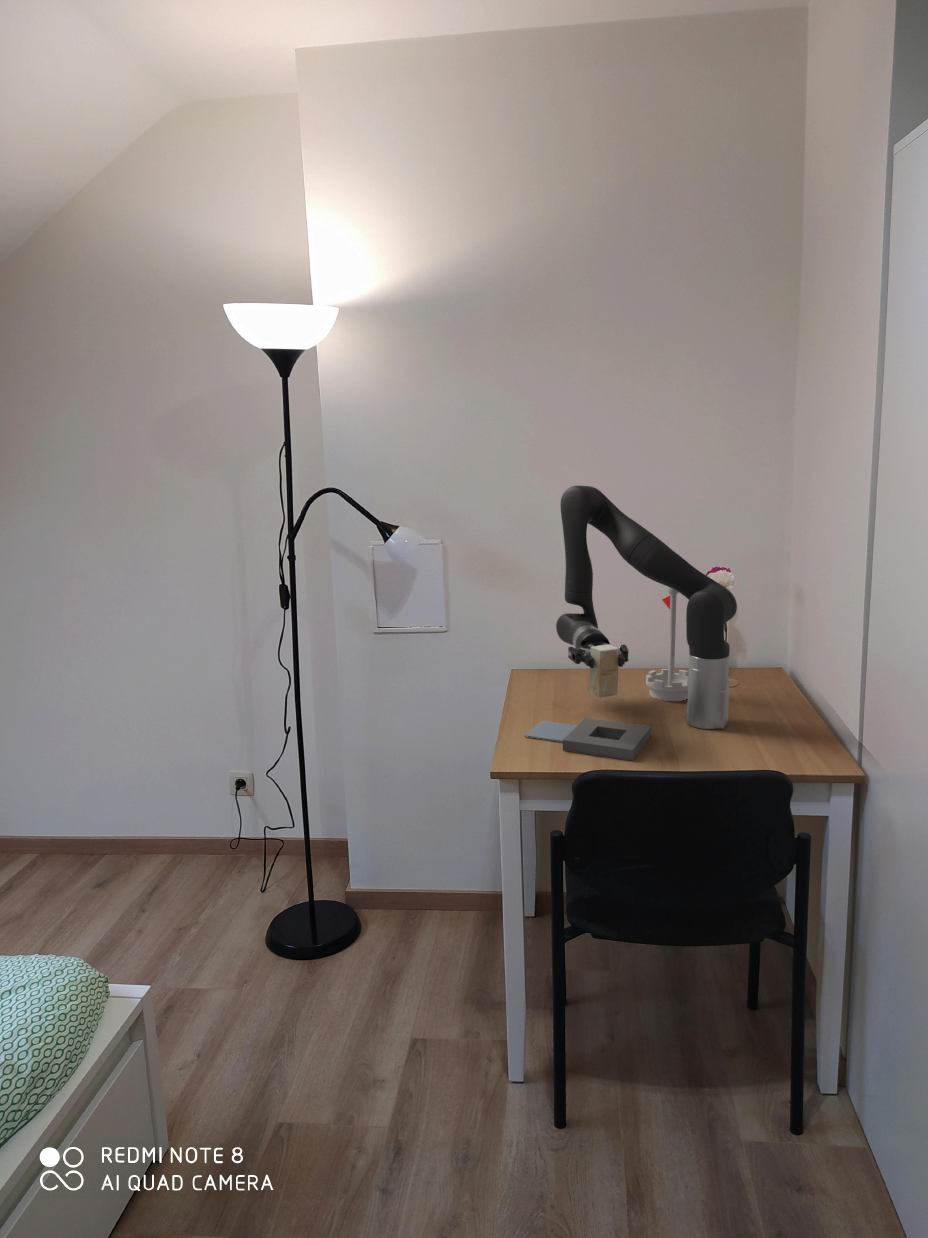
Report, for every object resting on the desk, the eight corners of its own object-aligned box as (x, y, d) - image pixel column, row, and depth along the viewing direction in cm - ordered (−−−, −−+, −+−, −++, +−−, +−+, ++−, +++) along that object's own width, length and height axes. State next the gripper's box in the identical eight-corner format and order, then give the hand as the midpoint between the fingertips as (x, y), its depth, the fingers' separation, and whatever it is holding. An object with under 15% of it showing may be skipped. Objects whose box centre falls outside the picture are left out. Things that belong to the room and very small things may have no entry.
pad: (580, 728, 219) (580, 726, 219) (565, 743, 209) (565, 741, 209) (541, 722, 223) (541, 720, 223) (524, 737, 213) (524, 735, 213)
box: (599, 698, 204) (599, 651, 201) (588, 693, 207) (589, 646, 205) (619, 695, 206) (619, 647, 203) (608, 689, 209) (609, 643, 207)
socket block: (650, 736, 212) (651, 726, 211) (632, 760, 198) (632, 749, 197) (585, 727, 219) (585, 718, 218) (562, 750, 205) (562, 740, 204)
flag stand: (706, 698, 239) (710, 585, 232) (664, 705, 234) (667, 590, 227) (676, 685, 251) (679, 577, 244) (636, 691, 246) (638, 582, 239)
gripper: (561, 629, 217) (575, 648, 201) (620, 627, 218) (639, 645, 202) (561, 660, 219) (574, 680, 203) (620, 657, 220) (638, 678, 204)
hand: (606, 663), depth 202 cm, fingers closed on box, 6 cm apart
